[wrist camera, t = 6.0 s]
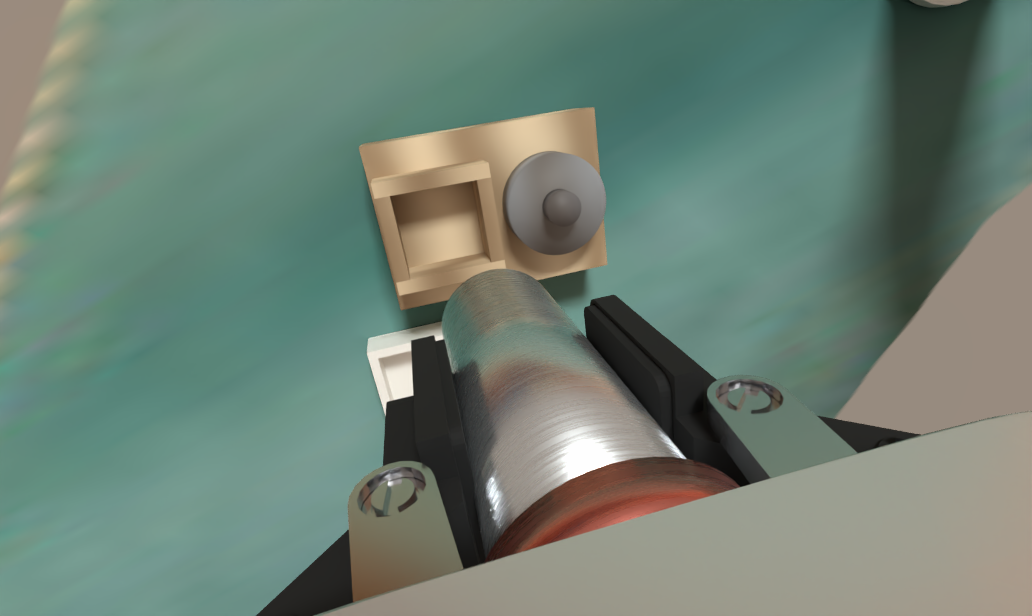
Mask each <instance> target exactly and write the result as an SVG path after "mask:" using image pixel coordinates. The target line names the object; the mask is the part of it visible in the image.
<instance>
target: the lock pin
mask: <svg viewBox="0 0 1032 616" xmlns="http://www.w3.org/2000/svg"><path fill="white" fill-rule="evenodd" d="M442 334H443V339H444V340H445V344H446V348H447V353H448V357H449V361H450V366H451V370H452V375H453V380H454V385H455V390H456V395H457V400H458V405H459V410H460V414H461V419H462V424H463V429H464V434H465V439H466V444H467V449H468V454H469V459H470V464H471V469H472V474H473V479H474V501H475V508H476V513H477V518H478V523H479V528H480V534H481V539H482V544H483V549H484V555H485V561H484V563H486V562H489V561H492V560H496V559H499V558H502V557H506V556H509V555H512V554H516V553H519V552H522V551H526V550H529V549H532V548H536V547H539V546H542V545H546V544H549V543H553V542H556V541H559V540H563V539H566V538H570V537H573V536H576V535H580V534H583V533H587V532H590V531H593V530H597V529H600V528H604V527H607V526H610V525H614V524H617V523H620V522H624V521H627V520H631V519H634V518H637V517H641V516H644V515H647V514H651V513H654V512H658V511H661V510H664V509H668V508H671V507H674V506H678V505H681V504H685V503H688V502H692V501H695V500H698V499H702V498H705V497H709V496H712V495H715V494H719V493H722V492H726V491H729V490H733V489H736V488H739V487H740V486H739V485H738V484H737V483H736V482H735V481H734V480H733V479H732V478H730V477H729V476H727V475H726V474H725V473H723V472H722V471H720V470H718V469H716V468H714V467H712V466H709V465H707V464H704V463H701V462H697V461H694V460H690V459H687V458H686V457H685V456H684V455H683V453H682V452H681V451H680V450H679V449H678V447H677V446H676V445H675V444H674V443H673V441H672V440H671V439H670V438H669V437H668V435H667V434H666V433H665V432H664V431H663V429H662V428H661V427H660V426H659V425H658V423H657V422H656V421H655V420H654V419H653V417H652V416H651V415H650V414H649V413H648V411H647V410H646V409H645V408H644V407H643V405H642V404H641V403H640V402H639V401H638V399H637V398H636V397H635V396H634V395H633V393H632V392H631V391H630V390H629V389H628V387H627V386H626V385H625V384H624V383H623V381H622V380H621V379H620V378H619V377H618V375H617V374H616V373H615V372H614V371H613V369H612V368H611V367H610V366H609V365H608V363H607V362H606V361H605V360H604V359H603V357H602V356H601V355H600V354H599V353H598V351H597V350H596V349H595V348H594V347H593V345H592V344H591V343H590V342H589V341H588V339H587V338H586V337H585V336H584V335H583V333H582V332H581V331H580V330H579V329H578V327H577V326H576V325H575V324H574V323H573V321H572V320H571V319H570V318H569V317H568V315H567V314H566V313H565V312H564V311H563V309H562V308H561V307H560V306H559V305H558V303H557V302H556V301H555V300H554V299H553V298H552V296H551V295H550V294H549V293H548V292H547V290H546V289H545V288H544V287H543V286H542V285H541V284H540V283H539V282H538V281H537V280H536V279H534V278H533V277H531V276H530V275H528V274H526V273H523V272H521V271H517V270H513V269H492V270H488V271H484V272H481V273H479V274H476V275H474V276H472V277H471V278H469V279H467V280H466V281H465V282H463V283H462V284H461V285H460V286H459V287H458V288H457V289H456V290H455V291H454V293H453V294H452V295H451V297H450V299H449V300H448V302H447V304H446V307H445V309H444V313H443V317H442Z"/></svg>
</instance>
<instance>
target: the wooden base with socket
mask: <svg viewBox="0 0 1032 616" xmlns="http://www.w3.org/2000/svg"><path fill="white" fill-rule="evenodd" d="M359 150H360V154H361V158H362V161H363V165H364V169H365V173H366V177H367V181H368V185H369V189H370V192H371V196H372V200H373V204H374V208H375V212H376V216H377V219H378V223H379V227H380V231H381V235H382V239H383V243H384V247H385V250H386V254H387V258H388V262H389V266H390V270H391V274H392V277H393V281H394V285H395V289H396V293H397V297H398V301H399V305H400V308H401V310H405V309H409V308H414V307H418V306H423V305H427V304H432V303H436V302H441V301H445V300H449V299H450V297H451V295H452V294H453V293H454V291H455V290H456V289H457V288H458V287H459V286H460V285H461V284H462V283H463V282H465V281H466V280H467V279H469V278H471V277H472V276H474V275H476V274H479V273H481V272H484V271H488V270H492V269H513V270H517V271H521V272H523V273H526V274H528V275H530V276H531V277H533V278H534V279H536V280H540V279H545V278H549V277H554V276H558V275H563V274H567V273H572V272H576V271H581V270H585V269H590V268H595V267H599V266H604V265H607V255H606V243H605V231H604V219H603V217H604V214H605V209H606V193H605V188H604V184H603V182H602V180H601V177H600V171H599V159H598V147H597V135H596V123H595V111H594V107H593V108H577V109H568V110H562V111H556V112H550V113H544V114H538V115H532V116H526V117H521V118H515V119H509V120H503V121H497V122H491V123H485V124H479V125H473V126H467V127H461V128H455V129H449V130H443V131H437V132H431V133H425V134H419V135H413V136H407V137H401V138H396V139H390V140H384V141H378V142H372V143H366V144H362V145H361V146H360V147H359Z"/></svg>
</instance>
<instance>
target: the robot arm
mask: <svg viewBox="0 0 1032 616" xmlns="http://www.w3.org/2000/svg"><path fill="white" fill-rule="evenodd" d="M910 1H912V2H913V3H915V4H917V5H921V6H925V7H928V8H931V7H945V6H950V5H955V4H960V3H962V2H965V1H967V0H910ZM584 318H585V327H586V337H587V339H588V341H589V342H590V343H591V344H592V345H593V347H594V348H595V349H596V350H597V351H598V353H599V354H600V355H601V356H602V357H603V359H604V360H605V361H606V362H607V363H608V365H609V366H610V367H611V368H612V369H613V371H614V372H615V373H616V374H617V375H618V377H619V378H620V379H621V380H622V381H623V383H624V384H625V385H626V386H627V387H628V389H629V390H630V391H631V392H632V393H633V395H634V396H635V397H636V398H637V399H638V401H639V402H640V403H641V404H642V405H643V407H644V408H645V409H646V410H647V411H648V413H649V414H650V415H651V416H652V417H653V419H654V420H655V421H656V422H657V423H658V425H659V426H660V427H661V428H662V429H663V431H664V432H665V433H666V434H667V435H668V437H669V438H670V439H671V440H672V441H673V443H674V444H675V445H676V446H677V447H678V449H679V450H680V451H681V452H682V453H683V455H684V456H685V457H686V458H687V459H690V460H694V461H697V462H701V463H704V464H707V465H709V466H712V467H714V468H716V469H718V470H720V471H722V472H723V473H725V474H726V475H727V476H729V477H730V478H732V479H733V480H734V481H735V482H736V483H737V484H738V485H739V486H740V487H739V488H736V489H733V490H729V491H726V492H722V493H719V494H715V495H712V496H709V497H705V498H702V499H698V500H695V501H692V502H688V503H685V504H681V505H678V506H674V507H671V508H668V509H664V510H661V511H658V512H654V513H651V514H647V515H644V516H641V517H637V518H634V519H631V520H627V521H624V522H620V523H617V524H614V525H610V526H607V527H604V528H600V529H597V530H593V531H590V532H587V533H583V534H580V535H576V536H573V537H570V538H566V539H563V540H559V541H556V542H553V543H549V544H546V545H542V546H539V547H536V548H532V549H529V550H526V551H522V552H519V553H516V554H512V555H509V556H506V557H502V558H499V559H496V560H492V561H489V562H486V563H484V561H485V555H484V549H483V544H482V539H481V534H480V528H479V523H478V518H477V513H476V508H475V501H474V479H473V474H472V469H471V464H470V459H469V454H468V449H467V444H466V439H465V434H464V429H463V424H462V419H461V414H460V410H459V405H458V400H457V395H456V390H455V385H454V380H453V375H452V370H451V366H450V361H449V357H448V353H447V348H446V344H445V340H444V339H442V340H438V341H436V340H435V337H434V335H432V336H428V337H424V338H419V339H415V340H411V355H412V377H413V396H409V397H405V398H401V399H396V400H392V401H388V402H387V403H386V417H385V437H384V457H383V466H382V467H380V468H378V469H376V470H374V471H372V472H371V473H370V474H368V475H367V476H365V477H364V478H363V479H362V480H361V481H360V482H359V483H358V484H357V485H356V486H355V487H354V489H353V491H352V492H351V494H350V496H349V501H348V522H349V530H347V531H346V532H345V533H344V534H343V535H342V536H341V537H340V538H339V539H338V540H337V541H336V542H335V543H334V544H332V545H331V546H330V547H329V548H328V549H327V550H326V551H325V552H324V553H323V554H322V555H321V556H320V557H319V558H317V559H316V560H315V561H314V562H313V563H312V564H311V565H310V566H309V567H308V568H307V569H306V570H305V571H303V572H302V573H301V574H300V575H299V576H298V577H297V578H296V579H295V580H294V581H293V582H292V583H291V584H290V585H288V586H287V587H286V588H285V589H284V590H283V591H282V592H281V593H280V594H279V595H278V596H277V597H276V598H275V599H273V600H272V601H271V602H270V603H269V604H268V605H267V606H266V607H265V608H264V609H263V610H262V611H261V612H259V613H258V614H257V615H256V616H1032V411H1025V412H1020V413H1015V414H1008V415H1003V416H997V417H992V418H987V419H983V420H979V421H975V422H971V423H967V424H963V425H960V426H955V427H951V428H947V429H943V430H939V431H935V432H931V433H927V434H924V435H920V434H913V433H907V432H902V431H897V430H891V429H886V428H880V427H875V426H870V425H864V424H859V423H854V422H848V421H842V420H837V419H832V418H826V417H821V416H816V415H815V414H814V413H813V412H812V411H811V410H810V409H809V408H807V407H806V406H805V405H804V404H803V403H802V402H801V401H800V400H799V399H798V398H796V397H795V396H794V395H793V394H792V393H791V392H790V391H789V390H788V389H786V388H785V387H783V386H782V385H780V384H779V383H777V382H775V381H772V380H770V379H767V378H763V377H758V376H751V375H735V376H728V377H724V378H721V379H718V380H716V379H715V378H714V377H713V376H711V375H710V374H709V373H708V372H707V371H705V370H704V369H703V368H702V367H701V366H699V365H698V364H697V363H696V362H695V361H694V360H692V359H691V358H690V357H689V356H688V355H686V354H685V353H684V352H683V351H682V350H680V349H679V348H678V347H677V346H676V345H674V344H673V343H672V342H671V341H670V340H668V339H667V338H666V337H664V336H663V335H662V334H661V333H660V332H658V331H657V330H656V329H655V328H654V327H652V326H651V325H650V324H649V323H648V322H646V321H645V320H644V319H643V318H642V317H641V316H639V315H638V314H637V313H636V312H635V311H633V310H632V309H631V308H630V307H629V306H627V305H626V304H625V303H624V302H623V301H621V300H620V299H619V298H618V297H617V296H615V295H610V296H606V297H601V298H597V299H593V300H591V303H590V306H588V307H585V309H584Z"/></svg>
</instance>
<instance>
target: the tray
mask: <svg viewBox="0 0 1032 616" xmlns="http://www.w3.org/2000/svg"><path fill="white" fill-rule="evenodd" d="M432 335H434V337H435V340H436V341H438V340H442V339H443V334H442V322H437V323H433V324H428V325H424V326H420V327H415V328H411V329H406V330H402V331H398V332H393V333H389V334H384V335H380V336H376V337H371V338H368V347H367V355H368V359H369V362H370V365H371V369H372V372H373V375H374V379H375V382H376V386H377V389H378V392H379V396H380V399H381V402H382V406H383V409H384V412H385V416H386V403H387V402H388V401H392V400H396V399H401V398H405V397H409V396H413V377H412V355H411V340H415V339H419V338H424V337H428V336H432Z"/></svg>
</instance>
